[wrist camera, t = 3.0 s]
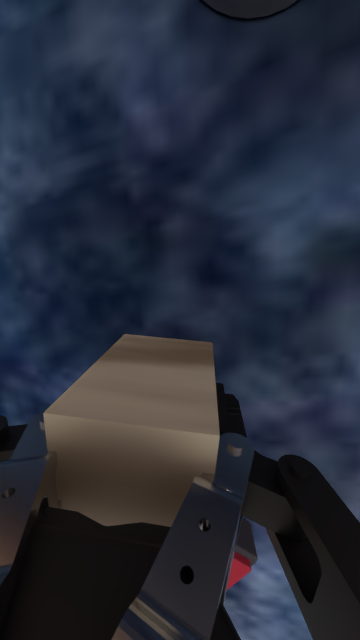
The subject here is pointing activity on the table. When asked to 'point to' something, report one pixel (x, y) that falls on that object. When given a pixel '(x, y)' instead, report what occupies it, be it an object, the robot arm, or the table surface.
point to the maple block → (136, 430)
